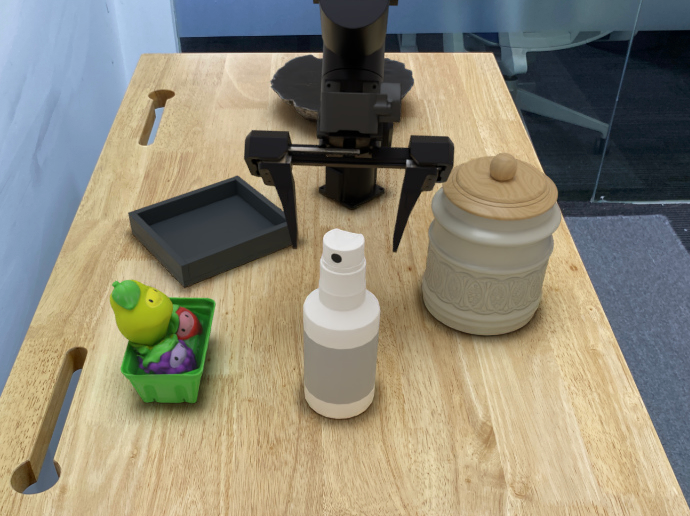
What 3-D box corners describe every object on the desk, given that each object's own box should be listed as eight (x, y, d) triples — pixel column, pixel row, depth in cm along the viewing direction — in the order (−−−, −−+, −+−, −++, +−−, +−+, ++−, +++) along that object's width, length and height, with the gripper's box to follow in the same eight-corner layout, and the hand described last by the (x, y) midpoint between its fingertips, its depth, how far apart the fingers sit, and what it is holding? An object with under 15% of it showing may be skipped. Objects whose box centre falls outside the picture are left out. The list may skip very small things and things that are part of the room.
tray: (239, 195, 102) (238, 175, 100) (297, 243, 94) (297, 221, 92) (131, 233, 95) (127, 212, 93) (184, 287, 88) (181, 266, 85)
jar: (418, 264, 91) (434, 122, 79) (529, 268, 90) (562, 125, 78) (422, 336, 82) (441, 187, 69) (546, 341, 81) (587, 191, 69)
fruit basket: (207, 413, 73) (194, 322, 66) (115, 412, 74) (91, 320, 66) (221, 335, 82) (211, 246, 74) (137, 334, 82) (118, 244, 74)
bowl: (417, 142, 112) (420, 109, 109) (267, 141, 112) (265, 107, 109) (406, 80, 128) (409, 49, 125) (275, 79, 128) (274, 47, 125)
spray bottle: (293, 408, 74) (288, 251, 61) (319, 364, 78) (320, 209, 66) (359, 428, 72) (369, 271, 60) (383, 381, 77) (396, 226, 64)
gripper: (239, 38, 63) (230, 226, 63) (467, 44, 63) (458, 235, 62) (256, 92, 75) (248, 252, 74) (449, 97, 74) (442, 260, 74)
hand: (344, 250), depth 71 cm, fingers open, 9 cm apart
